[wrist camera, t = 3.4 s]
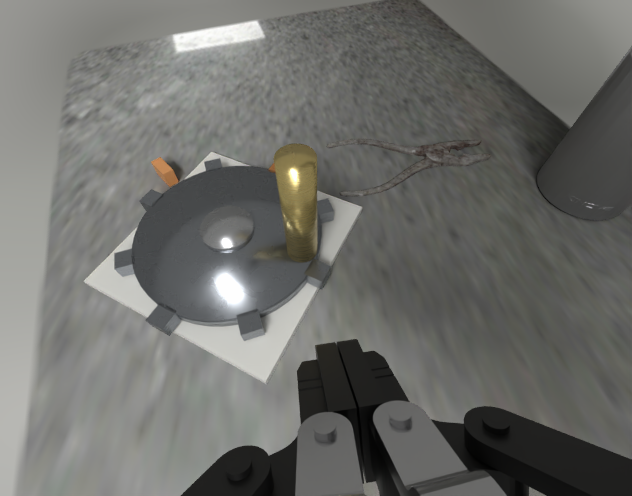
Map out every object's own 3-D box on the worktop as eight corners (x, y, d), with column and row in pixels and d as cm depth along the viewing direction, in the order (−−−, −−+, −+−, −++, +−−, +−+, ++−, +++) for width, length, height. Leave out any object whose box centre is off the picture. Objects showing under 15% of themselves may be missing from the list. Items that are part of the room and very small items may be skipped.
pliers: (314, 145, 42) (450, 110, 46) (314, 151, 43) (448, 115, 47) (344, 200, 37) (495, 155, 41) (344, 205, 38) (492, 160, 42)
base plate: (187, 147, 43) (181, 134, 41) (361, 211, 37) (363, 199, 35) (58, 268, 33) (44, 258, 31) (266, 384, 27) (263, 378, 25)
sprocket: (209, 146, 41) (172, 37, 31) (368, 203, 36) (388, 95, 25) (73, 282, 31) (-52, 188, 21) (267, 390, 26) (231, 338, 15)
